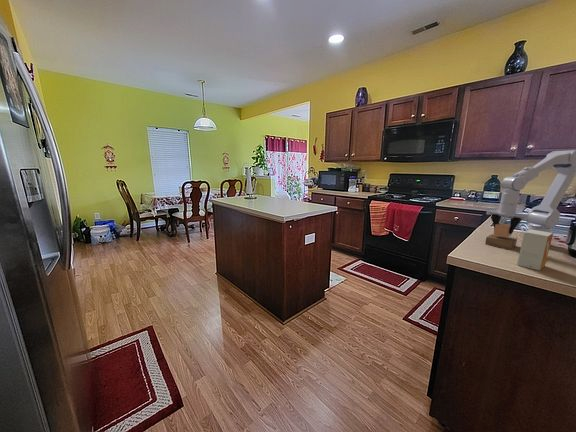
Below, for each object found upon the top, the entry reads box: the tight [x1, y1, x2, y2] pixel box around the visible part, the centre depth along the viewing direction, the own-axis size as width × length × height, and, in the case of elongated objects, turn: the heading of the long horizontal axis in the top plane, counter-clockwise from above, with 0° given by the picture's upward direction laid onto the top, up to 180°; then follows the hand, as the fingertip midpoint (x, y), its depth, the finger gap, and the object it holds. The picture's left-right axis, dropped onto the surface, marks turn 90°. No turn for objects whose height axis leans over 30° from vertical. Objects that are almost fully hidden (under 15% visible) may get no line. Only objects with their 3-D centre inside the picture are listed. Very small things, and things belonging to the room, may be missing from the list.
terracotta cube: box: [492, 222, 513, 237], centre depth 111 cm, size 5×5×5 cm
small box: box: [516, 229, 554, 271], centre depth 88 cm, size 8×6×13 cm
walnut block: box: [484, 233, 518, 250], centre depth 112 cm, size 9×9×4 cm
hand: (502, 231), depth 111 cm, fingers closed on terracotta cube, 5 cm apart
